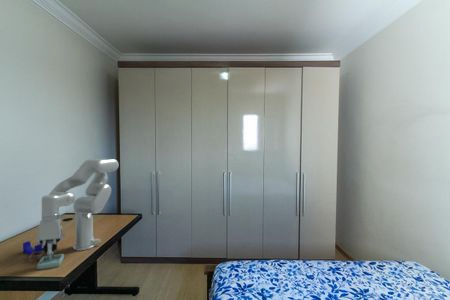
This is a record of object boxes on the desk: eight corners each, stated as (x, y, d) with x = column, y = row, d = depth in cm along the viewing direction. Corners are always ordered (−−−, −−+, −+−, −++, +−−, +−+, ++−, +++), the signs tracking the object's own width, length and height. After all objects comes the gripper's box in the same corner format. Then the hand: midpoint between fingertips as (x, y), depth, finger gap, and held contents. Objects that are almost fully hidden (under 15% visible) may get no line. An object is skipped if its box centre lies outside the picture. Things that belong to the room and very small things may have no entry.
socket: (45, 255, 138) (45, 250, 138) (41, 260, 133) (41, 255, 133) (32, 257, 136) (32, 252, 136) (28, 262, 131) (28, 256, 131)
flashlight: (55, 257, 131) (55, 238, 131) (53, 261, 128) (53, 240, 128) (47, 258, 130) (47, 239, 130) (44, 262, 126) (44, 241, 126)
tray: (64, 257, 136) (64, 253, 136) (59, 266, 127) (59, 262, 127) (43, 260, 132) (43, 256, 132) (36, 270, 123) (36, 265, 123)
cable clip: (44, 253, 142) (44, 243, 142) (36, 256, 138) (36, 246, 137) (31, 249, 146) (31, 240, 146) (23, 252, 142) (22, 243, 141)
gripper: (69, 214, 135) (69, 246, 135) (34, 217, 129) (34, 250, 129) (66, 218, 128) (66, 252, 128) (28, 221, 122) (28, 256, 122)
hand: (50, 251), depth 129 cm, fingers closed on flashlight, 3 cm apart
